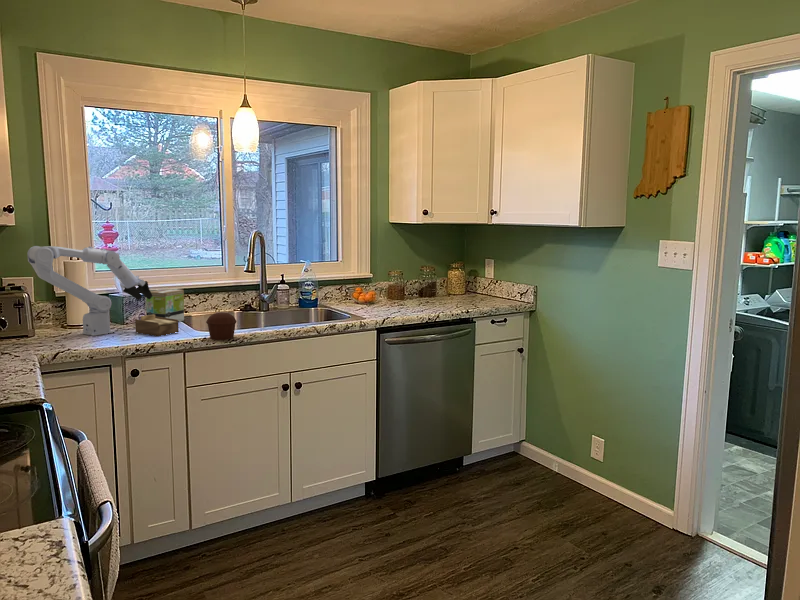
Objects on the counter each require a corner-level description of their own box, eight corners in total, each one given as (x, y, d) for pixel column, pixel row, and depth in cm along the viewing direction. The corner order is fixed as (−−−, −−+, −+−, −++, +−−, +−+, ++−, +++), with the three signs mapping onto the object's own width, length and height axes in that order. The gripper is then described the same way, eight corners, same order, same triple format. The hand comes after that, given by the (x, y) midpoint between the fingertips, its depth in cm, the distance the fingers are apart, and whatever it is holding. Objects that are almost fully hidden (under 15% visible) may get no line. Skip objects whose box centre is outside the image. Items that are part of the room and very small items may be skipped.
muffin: (233, 334, 251) (232, 310, 250) (240, 339, 242) (239, 314, 241) (203, 336, 246) (202, 311, 244) (209, 341, 236) (208, 315, 235)
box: (157, 336, 244) (157, 322, 243) (135, 332, 251) (135, 319, 251) (178, 332, 253) (178, 319, 252) (156, 329, 260) (156, 316, 259)
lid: (159, 325, 244) (159, 319, 244) (137, 322, 251) (136, 316, 251) (176, 322, 251) (176, 317, 251) (154, 319, 259) (154, 313, 258)
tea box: (166, 325, 270) (165, 292, 268) (146, 324, 272) (144, 291, 270) (185, 320, 284) (184, 288, 282) (165, 319, 286) (164, 288, 284)
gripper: (140, 266, 252) (161, 290, 260) (120, 269, 260) (141, 292, 268) (129, 278, 248) (151, 302, 255) (109, 280, 256) (130, 303, 263)
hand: (145, 297), depth 261 cm, fingers open, 7 cm apart
